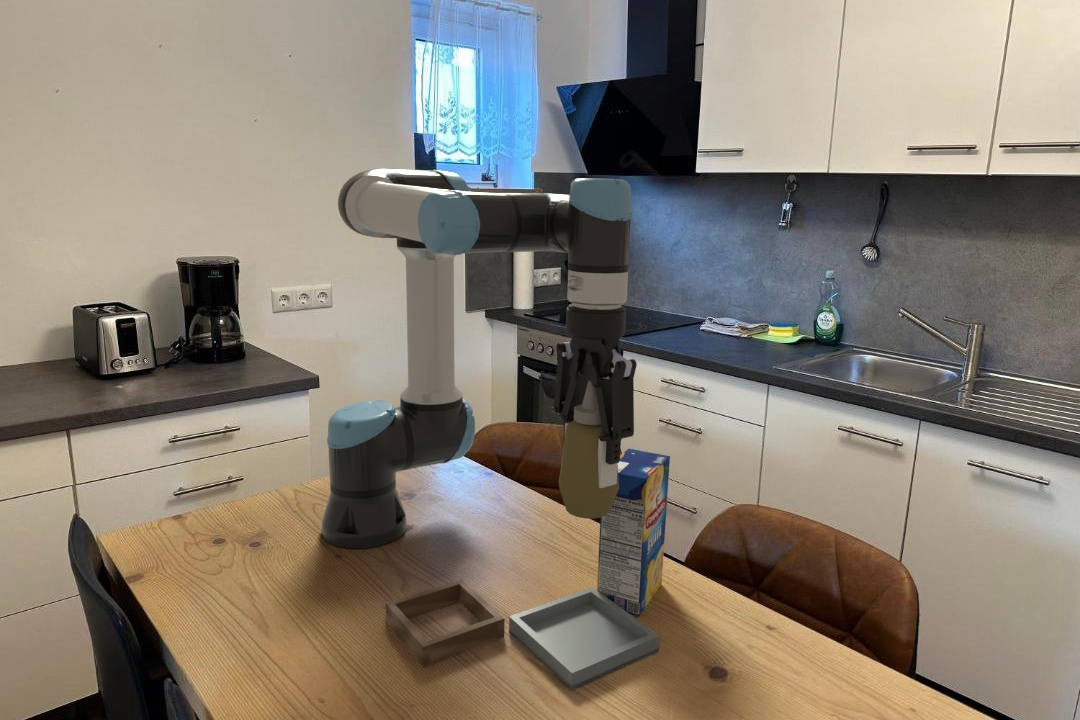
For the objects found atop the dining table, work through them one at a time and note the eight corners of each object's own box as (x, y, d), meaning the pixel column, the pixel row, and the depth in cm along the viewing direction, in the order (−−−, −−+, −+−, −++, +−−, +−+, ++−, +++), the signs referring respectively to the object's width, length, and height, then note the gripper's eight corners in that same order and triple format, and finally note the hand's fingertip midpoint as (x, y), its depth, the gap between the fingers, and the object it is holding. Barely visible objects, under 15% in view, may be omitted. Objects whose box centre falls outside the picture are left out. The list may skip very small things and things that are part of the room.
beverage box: (596, 605, 112) (602, 470, 108) (622, 573, 122) (628, 448, 117) (638, 617, 109) (646, 479, 105) (661, 584, 119) (670, 456, 114)
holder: (386, 621, 107) (385, 602, 106) (462, 597, 114) (462, 579, 113) (423, 667, 97) (423, 647, 96) (504, 637, 104) (504, 618, 103)
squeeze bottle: (552, 520, 96) (556, 386, 92) (563, 495, 103) (567, 371, 99) (614, 526, 94) (621, 391, 90) (620, 501, 102) (626, 375, 98)
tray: (508, 631, 105) (509, 616, 104) (591, 601, 113) (592, 587, 113) (571, 690, 93) (572, 673, 92) (658, 651, 101) (659, 635, 101)
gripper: (529, 296, 98) (525, 459, 103) (624, 318, 83) (614, 508, 88) (574, 293, 102) (568, 449, 107) (672, 313, 87) (660, 495, 92)
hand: (589, 475), depth 98 cm, fingers closed on squeeze bottle, 6 cm apart
